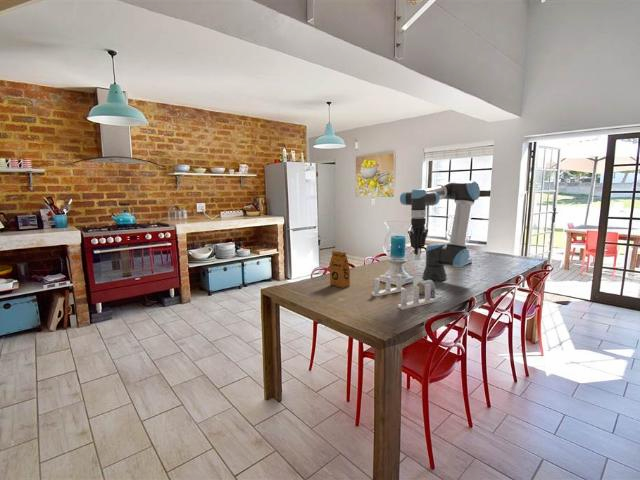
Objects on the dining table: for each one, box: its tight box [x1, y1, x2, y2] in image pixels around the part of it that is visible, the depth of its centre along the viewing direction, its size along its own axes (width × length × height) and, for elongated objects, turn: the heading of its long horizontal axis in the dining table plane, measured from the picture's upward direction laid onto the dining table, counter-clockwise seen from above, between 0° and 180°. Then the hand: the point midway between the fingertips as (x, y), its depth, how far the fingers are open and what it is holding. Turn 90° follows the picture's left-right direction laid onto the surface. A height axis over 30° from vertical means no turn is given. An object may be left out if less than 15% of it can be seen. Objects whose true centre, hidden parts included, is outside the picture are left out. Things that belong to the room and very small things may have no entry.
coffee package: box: [329, 250, 351, 289], centre depth 205 cm, size 10×12×22 cm
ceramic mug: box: [416, 279, 436, 298], centre depth 185 cm, size 11×8×8 cm
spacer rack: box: [371, 274, 435, 310], centre depth 179 cm, size 21×27×10 cm
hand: (417, 259), depth 182 cm, fingers closed
